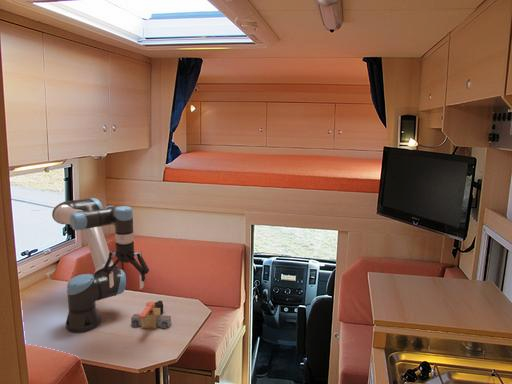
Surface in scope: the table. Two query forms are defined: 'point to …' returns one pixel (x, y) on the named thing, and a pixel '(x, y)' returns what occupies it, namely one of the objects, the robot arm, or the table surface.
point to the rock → (159, 305)
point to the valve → (151, 320)
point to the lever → (147, 309)
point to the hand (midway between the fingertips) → (126, 287)
